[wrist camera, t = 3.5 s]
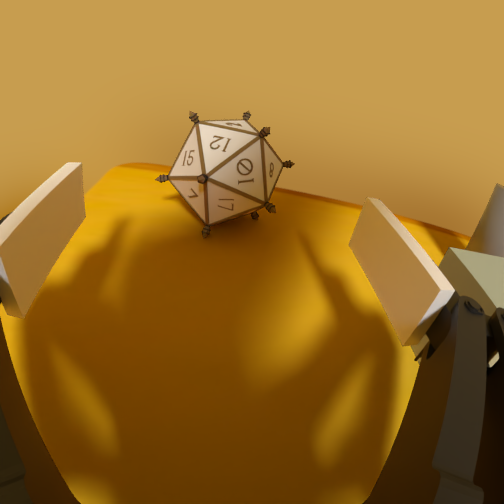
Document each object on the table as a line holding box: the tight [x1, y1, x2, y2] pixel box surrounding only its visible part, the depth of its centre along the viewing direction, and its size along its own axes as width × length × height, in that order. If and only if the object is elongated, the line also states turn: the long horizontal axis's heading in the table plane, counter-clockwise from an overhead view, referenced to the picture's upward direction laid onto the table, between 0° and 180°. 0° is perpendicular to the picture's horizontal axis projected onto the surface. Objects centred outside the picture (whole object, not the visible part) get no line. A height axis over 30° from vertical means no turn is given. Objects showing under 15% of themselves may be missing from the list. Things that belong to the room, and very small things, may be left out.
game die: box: [155, 111, 294, 239], centre depth 21 cm, size 9×8×10 cm
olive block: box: [411, 247, 504, 367], centre depth 13 cm, size 6×6×6 cm
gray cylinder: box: [465, 184, 504, 258], centre depth 20 cm, size 6×6×9 cm
